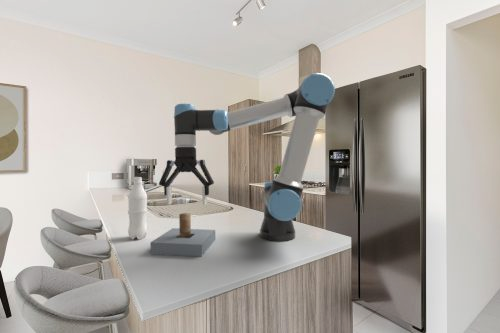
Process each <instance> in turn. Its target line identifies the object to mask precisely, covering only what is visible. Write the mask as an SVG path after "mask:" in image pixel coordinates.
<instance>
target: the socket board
mask: <svg viewBox="0 0 500 333" xmlns="http://www.w3.org/2000/svg"><path fill="white" fill-rule="evenodd" d="M215 241H216V229H204V228H203V229H199V228H191V238H180V232H179V228H178V227H177V228H176V227H172V228H171V229H169V230H168V231H166V232H164V233H163V234H161V235H160V236H158V237H157V238H155V239H153V240H151V241H150V255H161V254H163V255H164V256H165V255H166V256H181V257H182V256H185V257H200V258H201V257H203V255H205V253H206V252H207V251H208V249H209V248H210V247H211V246H212V244H213V243H215ZM163 255H162V256H163Z"/></svg>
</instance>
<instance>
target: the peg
mask: <svg viewBox="0 0 500 333" xmlns="http://www.w3.org/2000/svg"><path fill="white" fill-rule="evenodd" d="M191 215H192V214H191V213H187V212H184V213H183V212H182V213H179V222H178V223H179V232H180V238H191V229H192V228H191V223H192V222H191V220H192V219H191Z"/></svg>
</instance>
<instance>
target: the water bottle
mask: <svg viewBox="0 0 500 333" xmlns="http://www.w3.org/2000/svg"><path fill="white" fill-rule="evenodd" d="M142 179H143V177H141V176H135V177H133V182H132V183H133V186H132V188H131V191H130V192H129V194H128V197H127V200H128V210H127V214H128V218H129V220H128V221H129V223H128V224H129V225H128V229H127V230H128V231H127V232H128V236H129V238H130V240H131V241H132V240H135V239H136V238H137V240H142V239H143V238H146V237H147V234H148V225H147V215H148V194H147V192H146V190H145V189H144V186H143V181H142Z"/></svg>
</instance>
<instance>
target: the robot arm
mask: <svg viewBox="0 0 500 333" xmlns="http://www.w3.org/2000/svg"><path fill="white" fill-rule="evenodd" d="M335 91H336V88H335V83H334V82H333V80H332V79H331V77H330V76H328V75H326V74H325V73H319V72H315V73H312V74H310V75H307V77H306V78H304V79H303V80H302V82H301V84H300V86H299V87H298V88H297V89H295V90H294V91H292V92H289V93H286V94H284V96H283V97H280V98H277V99H273V100H269V101H265V102H262V103H258V104H254V105H251V106H247V107H243V108H240V109H236V110H231V111H229V112H227V110H226V109H196V106H195V105H194V104H191V103H179V104H178V103H177V104H175V106H174V116H173V119H174V124H173V125H174V146H175V148H174V155H175V156H174V157H175V160H172V159H168V160H166V166H165V169H164V171H163V173H162V175H161V178H160V180H159V182H158V185H159V186H162V187H163V188H164V189H163V190H164V191H163V192H164V196H166V205H168V206H169V205H171V204H173V200H172V199H173V198H172V197H173V196H172V193H173V192H172V186H171V184H172V183H173V182H174V180H175V179H176V178H177V177H178V175H179V174H180V173H192V174H194V176H195V177H196V178H197V179H198V180H199V182H200V183H201V184H202V185H203V186H202V187H201V191H202V193H201V194H202V195H201V196H202V206H204V205H207V203H208V200H207V199H208V198H207V197H208V196H209V194H210V186H212V185H214V183H215V182H214V179H213V178H212V176H211V174H210V172H209V170H208V168H207V166H206V161H205V159H199V160H197V148H196V145H197V137H196V136H197V135H196V132H198V131H199V132H201V131H204V132H205V131H207V132H208V131H209V133H210V134H213V135H215V136H219V135H222V134H224V133H227V132H231V131H234V130H237V129H241V128H245V127H249V126H253V125H256V124H259V123H260V124H261V123H265V122H267V121H271V120H275V119H278V118H282V117H285V116H287V117H290V118H293V117H295V118H294V120H293V124H292V129H291V131H290V134H289V138H288V141H287V145H286V149H285V152H284V156H283V159H282V162H281V165H280V166H281V167H280V168H279V172H278V176H276V177H275V178H273V179H272V181H267V182H265V183H264V187H263V193H264V194H263V195H264V199H263V208H264V209H263V210H264V211H263V220H262V223H261V226H260V229H259V236H260V237H261V238H263V239H265V240H269V241H275V242H276V241H279V242H283V241H285V242H286V241H290V240H293V239H295V238H296V229H295V225H294V222H293V220H294V219H296V217H297V216H298V215H299V214H300V212H301V210H302V199H301V198H302V195H303V190H304V185H303V184H302V180H303V176H304V173H305V169H306V166H307V162H308V159H309V156H310V152H311V149H312V145H313V143H314V138H315V136H316V131H317V128H318V124H319V122H320V120H321V119H323V118H324V117H325V116H326V113H327V109H328V105H329V103H331V101H332V100H333V98H334V97H335V93H336V92H335ZM197 165H198V166H199V167H200V169H201V172H202V173H203V175H202V173H201V172H200V171H199V170H198V169H197ZM173 166H175V169H173V172H172V173H171V171H172V168H173ZM170 173H171V175H170ZM169 175H170V176H169ZM204 176H205V177H204ZM205 178H206V179H205Z"/></svg>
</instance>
